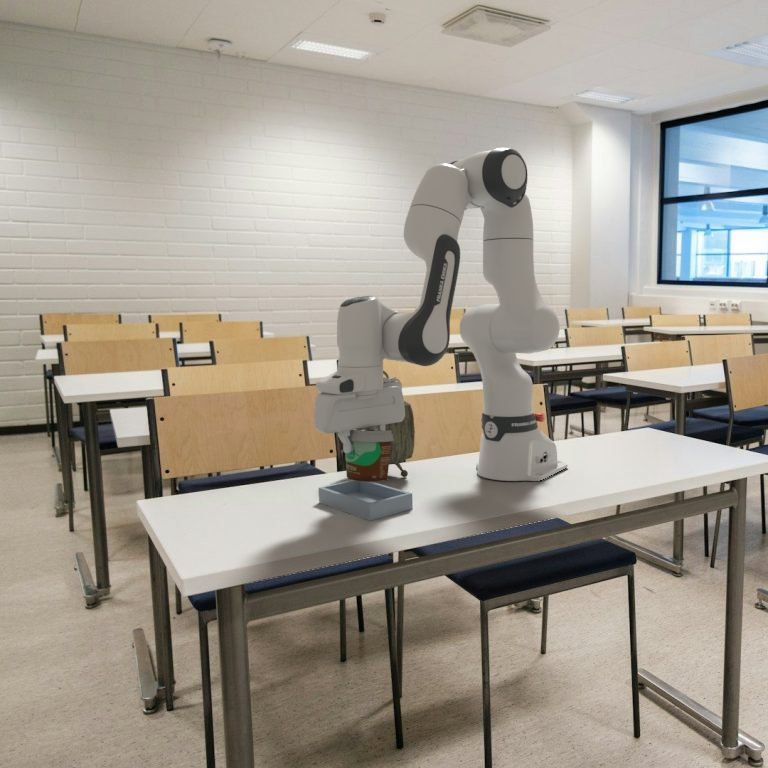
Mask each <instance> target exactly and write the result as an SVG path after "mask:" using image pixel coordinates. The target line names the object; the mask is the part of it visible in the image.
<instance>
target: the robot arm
mask: <svg viewBox="0 0 768 768" xmlns="http://www.w3.org/2000/svg"><path fill="white" fill-rule="evenodd" d="M424 173H425V174H424V175H423V177H422V179H421V180H420V183H419V184H418V186H417V188H416V191H415V193H414V195H413V198H412V201H411V203H410V206H409V209H408V211H407V215H406V217H405V222H404V226H403V239H404V242H405V244H406V246H407V248H408V249H409V250H410V252H412V253H413V254H414V256H416V257H417V258H420V259H422V260H423V261H424V262H425V263H424V264H425V266H426V274H425V278H424V283H423V289H422V293H421V297H420V302H419V305H418V306H417V308H416V310H414V311H413V312H399V311H398V310H395V309H393V308H391V307H389V306H387V305H386V304H384V303H383V302H381V301H380V300H379V298H378V297H377V296H373V295H364V296H357V297H353V298H348V299H346V300H344V301H343V302H341V303H340V305H339V309H338V312H337V320H336V321H337V323H336V343H337V348H338V352H339V354H338V355H339V356H338V360H337V371H335V372H333V373H331V374H329V375H327V376H325V377H323V378H321V379H319V380H317V382H316V383H315V389H316V391H317V392H318V394H317V396H316V398H315V400H314V413H313V415H314V427H315V429H316V431H317V432H319V433H320V434H321V433H322V434H326V435H327V434H335V433H337V436H338V438H339V440H340V441H341V443H342V451H343V453H352V452H354V444H353V443H351V442H350V440H349V438H348V436H350V430H354V429H360V428H366V427H372V426H374V429H376V430H375V431H385V424H390V423H396V422H402V421H403V419H404V417H405V406H404V401H405V400H404V394H403V384H402V382H401V381H400V379H398V378H397V376H388V377H389V378H387V377H384V374H383V370H384V359H385V360H389V361H396V362H402V363H403V362H405V363H410V364H413V365H417V366H422V367H430V366H432V365H435V364H436V363H438V362H439V361H440V360H441V359H442V358H443V357H444V356H445V354H446V352H447V351H448V347H449V345H450V337H451V335H450V334H451V330H450V329H451V328H450V327H451V325H450V324H451V322H450V321H451V314H452V308H453V301H454V298H455V297H454V296H455V292H456V287H457V280H458V275H459V269H460V265H461V264H460V263H461V247H460V245H459V243H458V240H459V239H458V237H459V233H460V228H461V226H462V222H463V219H464V214H465V211H466V210H468V209H480V211H481V213H482V216H483V220H484V221H483V232H482V274H483V277H484V280H485V281H487V282H488V283H489V284H490V285H492V287H493V288H494V290H495V291H496V294H497V298H498V302H499V303H486V304H485V303H484V304H481V305H478V306H474V307H472V308H468V309H467V310H466V311H465V312H464V313H463V315H462V316H461V319H460V323H459V335H460V337H461V339H462V342H463V343H464V344H465V345H466V346H467V347H468V348H469V349H470V351H471V352H472V354H473V356H474V358H475V360H476V363H477V366H478V368H479V369H478V370H479V371H480V377H481V381H482V382H481V383H482V396H483V397H482V399H483V412H482V413H481V419H480V421H481V422H480V423H481V429H482V430H483V431H482V434H481V436H480V443H479V444H480V445H479V455H478V462H476V466H475V467H476V469H477V470H476V474H477V475H478V476H479V477H481V478H484V479H489V480H495V481H504V482H505V481H506V482H509V481H510V482H518V481H519V482H520V481H521V482H522V481H529V482H530V481H531V482H541V481H540V480H542V481H544V480H546V479H548V478H550V477H552V476H554V475H553V474H555V473H557V472H559V471H561V470H563V469H565V468H567V467H569V466H568V463H566V462H563V461H561V460H558V449H557V446H556V443H555V442H554V441H553V440H552V439H550V437H548V436H547V435H546V434H544V432H543V431H541V430H540V429H539V424H538V422H539V423H543V422H545V419H546V417H545V416H546V415H545V413H541V412H535V413H534V411H533V405H534V403H533V391H534V390H533V389H534V388H533V380H532V378H531V375H530V374H528V373H527V372H526V370H524V369H523V368H522V366H521V364H520V362H519V361H518V358H517V354H529V355H530V354H534V353H535V354H536V353H541V352H544V351H548V350H549V349H551V348H552V347H553V346H554V345H555V343H556V342H557V341H558V337H559V335H560V322H559V318H558V316H557V313H556V312H555V311H554V310H553V309H552V308H551V307H550V306H549V305H548V304H547V303H546V302H545V301H544V299H543V297H542V295H541V293H540V289H538V284H537V281H536V277H535V267H534V266H535V265H534V264H535V261H534V221H533V213H532V208H531V202H530V199H529V197H528V195H527V194H526V190H527V185H528V168H527V164H526V162H525V160H524V158H523V156H522V155H521V154H520V153H519V152H518V151H517V150H516V149H513V148H509V147H497V148H493V149H491V150H485V151H479V152H477V153H475V152H474V153H473V154H471V155H469V156H467V157H464V158H462V159H459V160H455V161H451V162H450V163H437V164H434V165H432V166H430V167H429V168H428V169H427V170H426V171H425V172H424ZM388 382H389V383H388ZM567 469H568V468H567ZM565 470H566V469H565ZM563 471H564V470H563ZM561 472H562V471H561ZM559 473H560V472H559ZM557 474H558V473H557ZM551 475H552V476H551ZM555 475H556V474H555ZM549 476H550V477H549ZM547 477H548V478H547ZM545 478H546V479H545ZM543 479H544V480H543Z"/></svg>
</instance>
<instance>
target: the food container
mask: <svg viewBox="0 0 768 768" xmlns="http://www.w3.org/2000/svg"><path fill="white" fill-rule="evenodd" d="M348 438H349V440H350V442H351V443H353V444H354V452H352V453H345V456H344V457H345V469H346V471H345V472H346V478H347V479H349V480H355V481H365V482H375V483H378V482H384V481H388V479H389V478H388V477H389V467H390V464H389V457H390V447H391V441H393V434H392V430H388V431H374V430H370V429H367V430H360V429H354V430H350V436H348Z"/></svg>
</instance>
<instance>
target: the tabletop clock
mask: <svg viewBox="0 0 768 768" xmlns="http://www.w3.org/2000/svg"><path fill="white" fill-rule="evenodd" d="M383 375H384V376H385V378H389V377H390V376H389V374H388V373H387V371H385V370H384V369H383ZM388 383H389V382H388ZM404 406H405V417H404V419H403V421H402V422H396V423H390V424H385V431H388V430H392V434H393V441H391V447H390V457H389V465H390V464H393V465H395V466H396V468H398V469H399V471H400V476H401V477H403V478H406V477H408V473H409V472H408V471H407V470H405V469H403V467H402V465H401V463H400V462H401V461H405V460H408V459H411V458H413V455H414V451H415V433H416V432H415V418H414V412H413V408H412V405H411V404H410V403H409V402H407V401H406V400H404ZM367 429H370V430H374V431H375V430H376V429H374V426H372V427H366V428H360V430H367Z"/></svg>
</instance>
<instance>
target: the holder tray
mask: <svg viewBox="0 0 768 768" xmlns="http://www.w3.org/2000/svg"><path fill="white" fill-rule="evenodd" d="M318 502H319V503H320V504H322V505H325V506H327V505H328V507H331V508H334V509H336V510H339V511H342V512H345V513H347V514H351V515H352V516H355V517H359V518H361V519H363V520H367V521H370V522H371V521H374V520H378V519H383V518H386V517H390V516H393V515H395V514H398V513H403V512H406V511H409V510H413V507H414V506H413V492H410V491H406V490H402V489H398V488H395V487H392V486H388V485H385V484H382V483H378V482H365V481H355V480H351V479H349V480H346V481H341V482H336V483H332V484H328V485H323V486H320V487H318Z"/></svg>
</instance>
